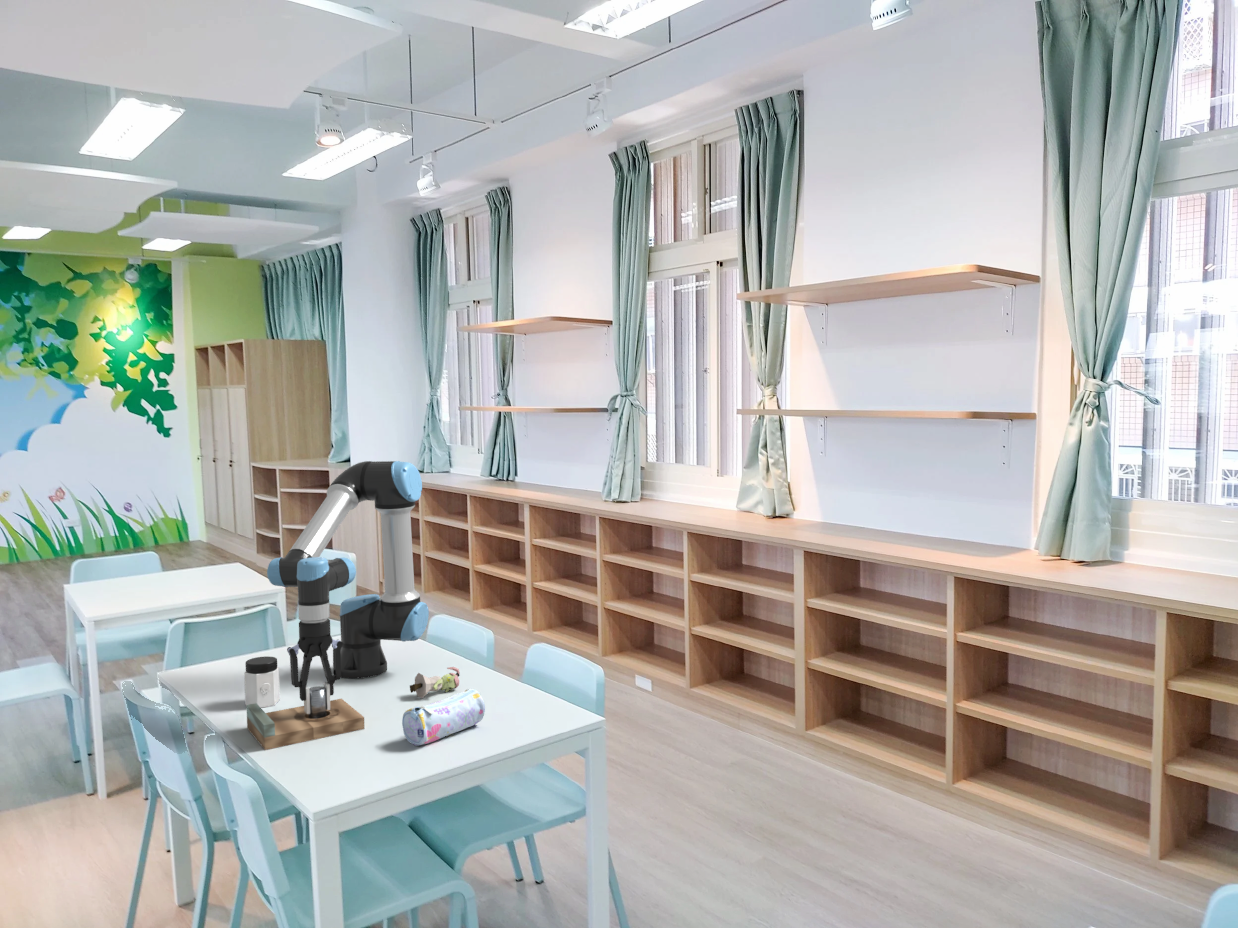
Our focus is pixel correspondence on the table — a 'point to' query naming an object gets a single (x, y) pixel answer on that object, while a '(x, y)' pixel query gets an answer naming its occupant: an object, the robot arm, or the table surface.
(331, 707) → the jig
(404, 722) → the pencil case
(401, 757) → the table surface
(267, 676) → the jar
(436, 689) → the figurine
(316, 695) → the grey metal cylinder
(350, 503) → the robot arm
